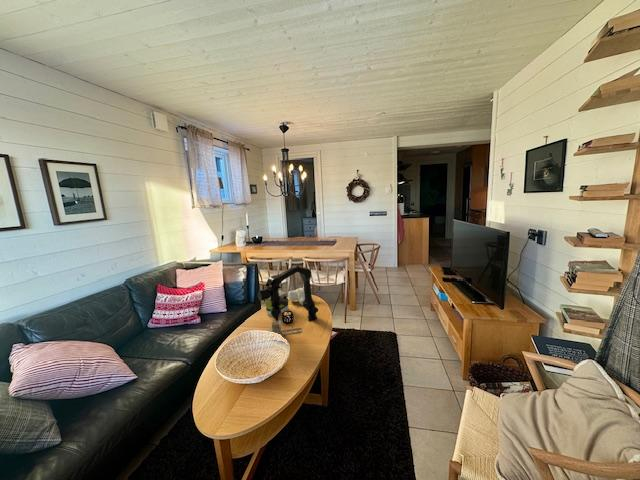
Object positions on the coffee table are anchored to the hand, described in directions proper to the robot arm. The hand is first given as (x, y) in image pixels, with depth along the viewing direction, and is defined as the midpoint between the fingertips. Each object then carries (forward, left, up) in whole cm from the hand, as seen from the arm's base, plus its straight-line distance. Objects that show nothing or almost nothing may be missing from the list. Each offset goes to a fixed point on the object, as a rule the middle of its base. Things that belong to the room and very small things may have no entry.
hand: (277, 317), depth 170 cm
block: (0, -2, -8) cm, 8 cm away
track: (0, +5, -12) cm, 13 cm away
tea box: (-31, 0, -12) cm, 33 cm away
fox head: (-43, +21, -12) cm, 49 cm away
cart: (0, -2, -12) cm, 12 cm away
